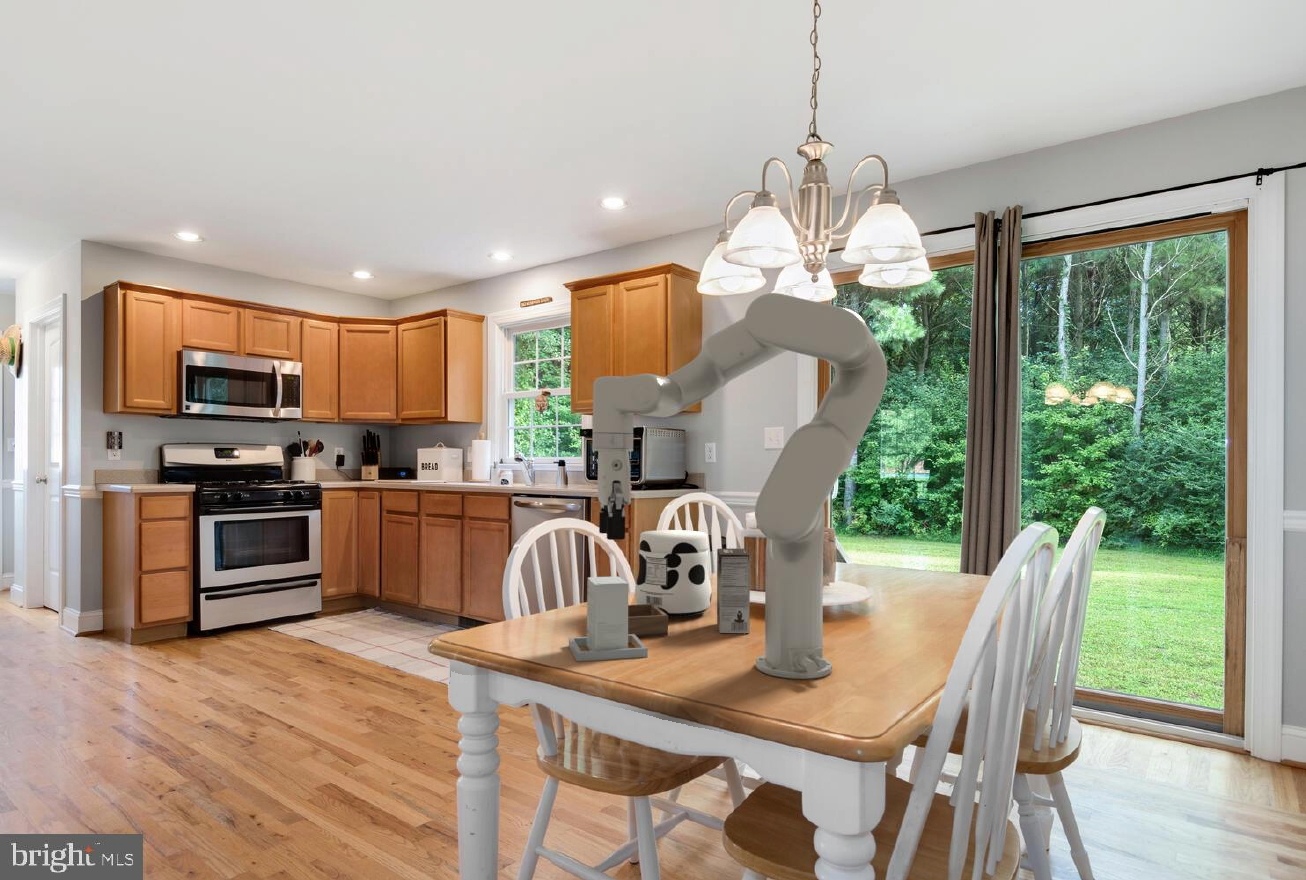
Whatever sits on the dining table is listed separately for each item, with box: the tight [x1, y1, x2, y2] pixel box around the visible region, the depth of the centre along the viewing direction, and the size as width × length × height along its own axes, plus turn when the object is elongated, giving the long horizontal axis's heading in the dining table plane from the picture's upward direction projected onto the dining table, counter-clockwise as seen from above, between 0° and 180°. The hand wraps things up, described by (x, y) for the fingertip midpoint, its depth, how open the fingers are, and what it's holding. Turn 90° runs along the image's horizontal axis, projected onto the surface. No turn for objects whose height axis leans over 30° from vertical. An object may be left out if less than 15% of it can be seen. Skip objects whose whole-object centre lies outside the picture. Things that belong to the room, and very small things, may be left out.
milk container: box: [634, 529, 713, 618], centre depth 168 cm, size 17×17×18 cm
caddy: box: [628, 604, 669, 639], centre depth 151 cm, size 12×13×4 cm
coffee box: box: [716, 548, 751, 635], centre depth 153 cm, size 9×6×16 cm
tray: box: [568, 634, 649, 662], centre depth 135 cm, size 11×13×2 cm
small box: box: [586, 576, 629, 651], centre depth 136 cm, size 8×6×13 cm
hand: (611, 536), depth 137 cm, fingers open, 9 cm apart
